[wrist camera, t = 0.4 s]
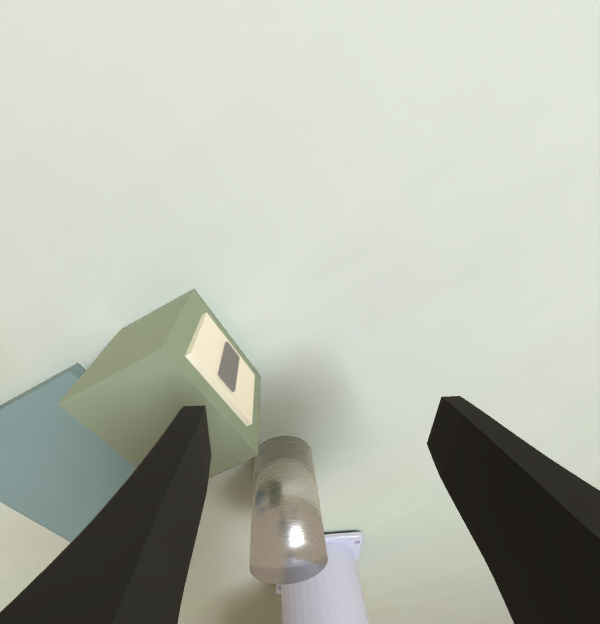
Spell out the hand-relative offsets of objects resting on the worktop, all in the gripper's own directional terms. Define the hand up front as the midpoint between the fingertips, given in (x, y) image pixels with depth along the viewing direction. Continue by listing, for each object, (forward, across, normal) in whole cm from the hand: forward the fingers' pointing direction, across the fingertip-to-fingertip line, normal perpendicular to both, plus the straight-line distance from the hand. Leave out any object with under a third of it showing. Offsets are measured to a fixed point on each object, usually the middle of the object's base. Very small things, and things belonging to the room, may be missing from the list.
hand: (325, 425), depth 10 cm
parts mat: (+9, +15, +12) cm, 22 cm away
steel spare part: (+9, +1, +13) cm, 16 cm away
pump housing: (+9, +6, +4) cm, 12 cm away
